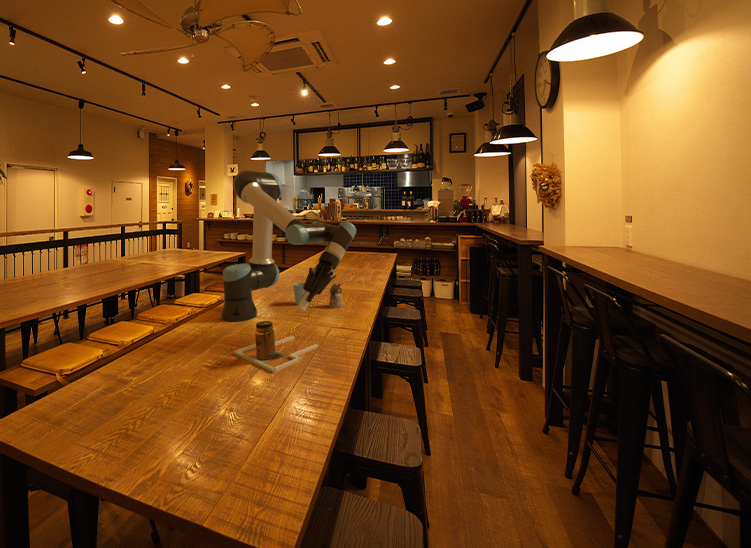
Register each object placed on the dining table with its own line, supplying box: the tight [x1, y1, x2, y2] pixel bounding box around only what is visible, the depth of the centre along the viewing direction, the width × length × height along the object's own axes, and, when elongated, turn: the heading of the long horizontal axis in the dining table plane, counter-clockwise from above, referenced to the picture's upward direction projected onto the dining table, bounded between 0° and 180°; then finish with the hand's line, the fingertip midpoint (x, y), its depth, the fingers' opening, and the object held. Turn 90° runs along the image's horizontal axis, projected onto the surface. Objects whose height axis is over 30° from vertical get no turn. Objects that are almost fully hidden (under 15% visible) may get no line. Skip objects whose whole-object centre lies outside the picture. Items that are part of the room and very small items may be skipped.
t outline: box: [233, 335, 319, 374], centre depth 121 cm, size 22×22×1 cm
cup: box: [292, 282, 305, 306], centre depth 181 cm, size 8×8×10 cm
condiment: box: [251, 320, 286, 364], centre depth 117 cm, size 7×8×12 cm
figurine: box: [328, 282, 344, 309], centre depth 177 cm, size 7×7×12 cm
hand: (301, 308), depth 127 cm, fingers closed
